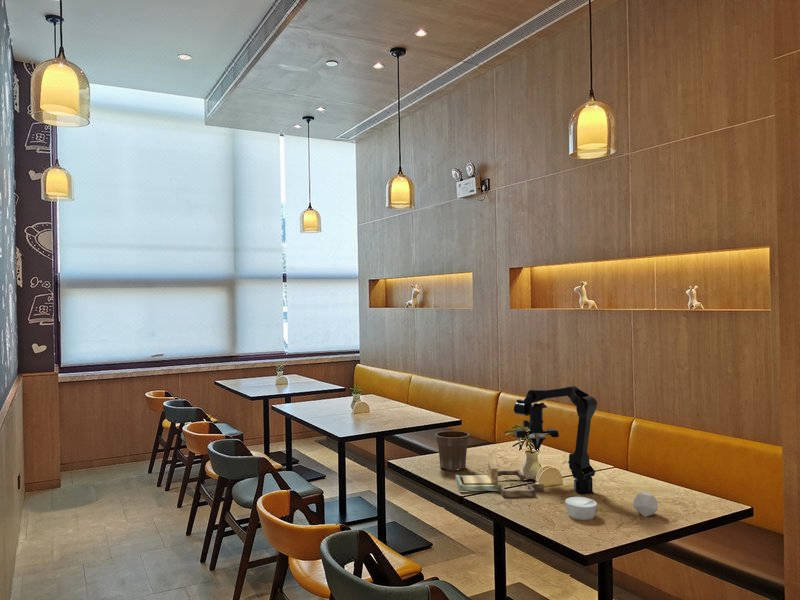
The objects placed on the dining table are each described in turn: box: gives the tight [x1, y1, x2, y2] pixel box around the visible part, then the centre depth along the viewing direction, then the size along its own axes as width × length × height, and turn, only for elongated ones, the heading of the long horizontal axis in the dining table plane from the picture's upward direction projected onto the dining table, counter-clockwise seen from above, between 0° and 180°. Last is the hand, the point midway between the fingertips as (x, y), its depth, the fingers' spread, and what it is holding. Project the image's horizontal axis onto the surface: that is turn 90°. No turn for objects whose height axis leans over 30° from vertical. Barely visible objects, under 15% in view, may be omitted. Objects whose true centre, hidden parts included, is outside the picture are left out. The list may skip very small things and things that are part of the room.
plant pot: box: [435, 430, 470, 471], centre depth 286 cm, size 16×16×16 cm
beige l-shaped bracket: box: [461, 461, 499, 486], centre depth 257 cm, size 14×10×9 cm
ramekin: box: [564, 496, 598, 521], centre depth 220 cm, size 11×11×5 cm
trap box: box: [455, 469, 545, 498], centre depth 257 cm, size 35×29×3 cm
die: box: [632, 491, 659, 518], centre depth 221 cm, size 8×9×10 cm
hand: (536, 452), depth 265 cm, fingers closed
